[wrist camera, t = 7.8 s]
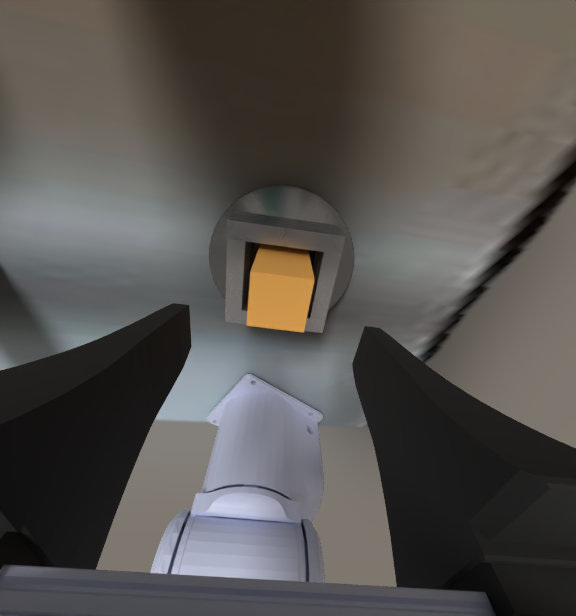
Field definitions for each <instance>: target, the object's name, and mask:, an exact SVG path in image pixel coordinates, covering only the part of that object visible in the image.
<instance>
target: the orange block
mask: <svg viewBox="0 0 576 616" xmlns="http://www.w3.org/2000/svg"><path fill="white" fill-rule="evenodd" d="M314 281H315V279H314V275H313V270H312V265H311V261H310V256H309V251H308V250H306V249H299V248H291V247H284V246H277V245H269V244H262V243H261V244H260V246H259V249H258V252H257V255H256V257H255V260H254V263H253V266H252V269H251V271H250V285H249V298H248V311H247V324H246V326H253V327H262V328H270V329H278V330H287V331H295V332H303V333H304V329H305V324H306V319H307V315H308V310H309V305H310V300H311V295H312V290H313V285H314Z"/></svg>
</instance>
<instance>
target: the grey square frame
mask: <svg viewBox="0 0 576 616" xmlns="http://www.w3.org/2000/svg"><path fill="white" fill-rule="evenodd" d="M261 243H262V244H269V245H277V246H284V247H291V248H299V249H306V250H308V251H309V256H310V261H311V265H312V270H313V275H314V279H315V281H314V285H313V290H312V295H311V300H310V305H309V310H308V315H307V319H306V324H305V329H304V331H309V332H318V333H323V328H324V324H325V320H326V316H327V312H328V310H329V309H330V308H331V307H332V306H333V305H335V303H336V302H337V301H338V300H339V299H340V298H341V296H342V295H343V293H344V292H345V290H346V288H347V286H348V284H349V281H350V278H351V275H352V271H353V266H354V248H353V243H352V239H351V236H350V233H349V230H348V228H347V226H346V224H345V223H344V221H343V219H342V218H341V217H340V215H339V214H338V212H337V211H336V210H335V209H334V208H333V207H332V206H331V205H330V204H329V203H328V202H327V201H325V200H324V199H323V198H321V197H320V196H318V195H316V194H315V193H313V192H311V191H308V190H306V189H303V188H300V187H295V186H289V185H273V186H267V187H262V188H259V189H257V190H254V191H252V192H250V193H248V194H246V195H244V196H243V197H241V198H240V199H239V200H237V201H236V202H235V203H233V204H232V205H231V206H230V207H229V208H228V209H227V210H226V211H225V212H224V214H223V215H222V217H221V218H220V219H219V221H218V223H217V225H216V227H215V229H214V232H213V234H212V237H211V242H210V248H209V262H210V268H211V273H212V276H213V279H214V282H215V284H216V286H217V288H218V290H219V291H220V293H221V294H222V296H223V297H224V298H225V299H226V306H225V322H232V323H241V324H247V311H248V298H249V285H250V271H251V269H252V266H253V263H254V260H255V257H256V255H257V252H258V249H259V246H260V244H261Z"/></svg>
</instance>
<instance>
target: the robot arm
mask: <svg viewBox="0 0 576 616" xmlns="http://www.w3.org/2000/svg"><path fill="white" fill-rule="evenodd" d="M190 349H191V331H190V312H189V305H183V304H175V303H173V304H171V305H169V306H166V307H164V308H162V309H160V310H158V311H156V312H154V313H152V314H150V315H149V316H147V317H145V318H143V319H141V320H139V321H137V322H135V323H133V324H131V325H129V326H126V327H124V328H122V329H120V330H118V331H115V332H113V333H111V334H109V335H107V336H104V337H102V338H100V339H97V340H95V341H92V342H90V343H87V344H85V345H82V346H79V347H76V348H74V349H71V350H68V351H65V352H62V353H59V354H56V355H53V356H50V357H46V358H43V359H40V360H36V361H33V362H30V363H27V364H23V365H20V366H16V367H12V368H9V369H5V370H1V371H0V616H576V448H573V447H571V446H569V445H566V444H564V443H562V442H559V441H557V440H555V439H553V438H550V437H548V436H546V435H544V434H542V433H540V432H538V431H536V430H534V429H532V428H530V427H528V426H526V425H524V424H522V423H520V422H517V421H516V420H514V419H512V418H510V417H508V416H506V415H504V414H502V413H501V412H499V411H497V410H495V409H493V408H491V407H490V406H488V405H486V404H484V403H483V402H481V401H479V400H478V399H476V398H474V397H472V396H471V395H469V394H468V393H466V392H464V391H463V390H461V389H460V388H458V387H457V386H455V385H453V384H452V383H450V382H449V381H448V380H446V379H445V378H443V377H442V376H440V375H439V374H438V373H436V372H435V371H434V370H432V369H431V368H429V367H428V366H427V365H426V364H424V363H423V362H422V361H420V360H419V359H418V358H417V357H415V356H414V355H413V354H412V353H410V352H409V351H408V350H407V349H405V348H404V347H403V346H402V345H401V344H399V343H398V342H397V341H396V340H394V339H393V338H392V337H391V336H389V335H388V334H387V333H386V332H384V331H383V330H381V329H380V328H375V327H366V326H365V327H364V330H363V333H362V336H361V339H360V342H359V346H358V349H357V352H356V355H355V358H354V361H353V364H352V365H353V372H354V378H355V384H356V388H357V391H358V395H359V398H360V401H361V404H362V408H363V411H364V414H365V417H366V420H367V423H368V427H369V430H370V433H371V436H372V440H373V443H374V447H375V451H376V457H377V461H378V466H379V471H380V476H381V482H382V487H383V493H384V498H385V504H386V511H387V516H388V523H389V529H390V536H391V544H392V551H393V559H394V567H395V575H396V583H397V587H387V586H369V585H351V584H335V583H334V584H333V583H325V577H324V564H323V555H322V548H321V543H320V539H319V536H318V534H317V532H316V530H315V529H314V527H313V525H312V523H311V522H312V520H313V519H314V518H315V516H316V514H317V512H318V510H319V507H320V504H321V500H322V496H323V488H324V476H323V466H322V458H321V448H320V439H319V429H318V423H319V422H320V421H321V420H322V419H323V415H322V413H320V412H319V411H317V410H315V409H313V408H311V407H310V406H308V405H306V404H304V403H302V402H301V401H299V400H297V399H295V398H293V397H292V396H290V395H288V394H286V393H284V392H283V391H281V390H279V389H277V388H275V387H274V386H272V385H270V384H268V383H266V382H265V381H263V380H261V379H259V378H257V377H256V376H254V375H252V374H246V375H245V376H244V377H243V378H242V379H241V380H240V381H239V382H238V384H237V385H236V386H235V387H234V388H233V389H232V390H231V391H230V392H229V393H228V394H227V395H226V396H225V397H224V399H223V400H222V401H221V402H220V403H219V404H218V405H217V406H216V407H215V408H214V409H213V410H212V411H211V412H210V414H209V415H208V416H207V421H208V422H210V423H212V424H214V425H216V426H218V427H219V428H218V432H217V436H216V439H215V443H214V447H213V451H212V454H211V459H210V462H209V466H208V470H207V473H206V477H205V481H204V484H203V488H202V492H201V493H196V495H195V499H194V503H193V506H192V510H188V509H183V510H181V511H180V513H179V514H178V515H177V516H176V517H175V518H174V519H173V520H172V521H171V522H170V523H169V525H168V527H167V529H166V531H165V533H164V535H163V537H162V540H161V542H160V545H159V547H158V550H157V553H156V556H155V559H154V562H153V565H152V568H151V571H150V573H144V572H143V573H142V572H126V571H109V570H96V567H97V564H98V561H99V558H100V555H101V553H102V550H103V547H104V544H105V541H106V539H107V536H108V533H109V530H110V527H111V525H112V522H113V519H114V516H115V514H116V511H117V509H118V506H119V503H120V501H121V498H122V495H123V493H124V490H125V487H126V485H127V482H128V480H129V478H130V475H131V473H132V470H133V468H134V465H135V463H136V460H137V458H138V455H139V453H140V451H141V448H142V446H143V444H144V441H145V439H146V436H147V434H148V432H149V430H150V427H151V426H152V423H153V421H154V420H155V418H156V416H157V414H158V412H159V410H160V408H161V407H162V405H163V403H164V401H165V400H166V398H167V396H168V394H169V392H170V391H171V389H172V387H173V385H174V383H175V382H176V380H177V378H178V376H179V374H180V373H181V371H182V369H183V367H184V364H185V362H186V359H187V357H188V354H189V351H190ZM252 381H255V382H252Z"/></svg>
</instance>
